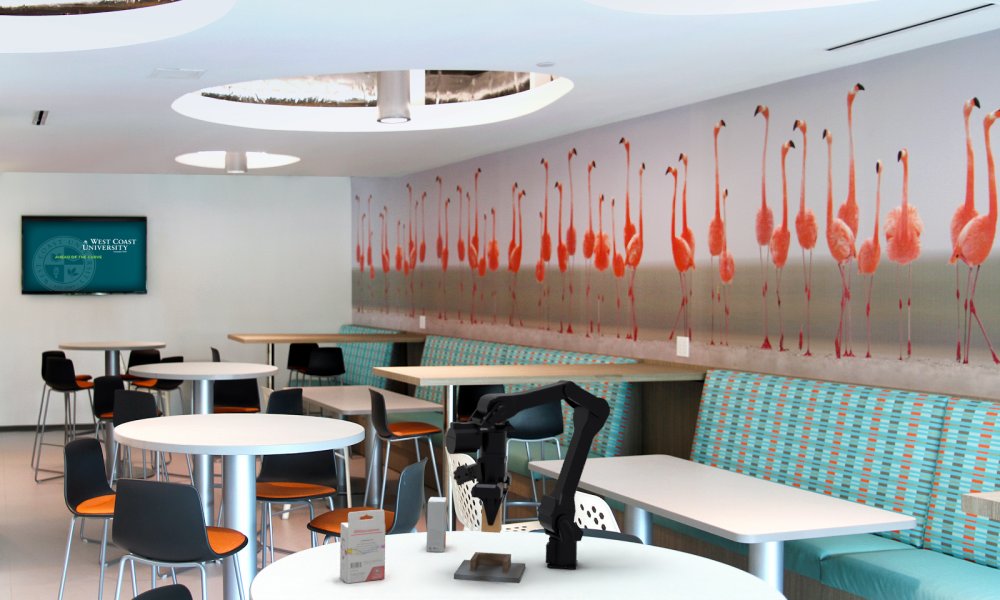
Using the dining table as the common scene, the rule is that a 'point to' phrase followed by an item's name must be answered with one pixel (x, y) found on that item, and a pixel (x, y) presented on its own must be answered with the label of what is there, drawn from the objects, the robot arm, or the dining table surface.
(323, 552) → the dining table surface
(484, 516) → the connector plug
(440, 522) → the skincare box
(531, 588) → the dining table surface
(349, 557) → the ink cartridge box
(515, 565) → the end holder
